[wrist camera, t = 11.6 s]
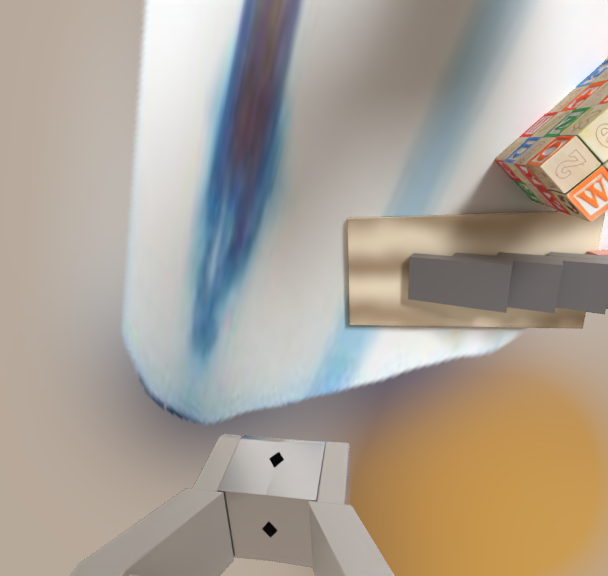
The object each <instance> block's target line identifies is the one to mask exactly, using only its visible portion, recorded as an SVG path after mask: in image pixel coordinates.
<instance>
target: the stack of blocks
mask: <svg viewBox="0 0 608 576" xmlns="http://www.w3.org/2000/svg"><path fill="white" fill-rule="evenodd" d="M495 160H496V162H497V163H498V164H499V165H500V166H501V167H502V168H503V169H504V170H505V171H506V173H507V174H508V175H509V176H510V177H511V178H512V179H513V180H515V181H516V183H517V184H518V185H519V186H520V187H521V188H522V189H523V190H524V191H525V193H526V194H527V195H528V196H529V197H530V198H531V199H532V200H533V201H536V202H538V203H541V204H545V205H547V206H549V207H552V208H554V209H557V210H558V211H561V212H564V213H566V214H568V215H573V216H576V217H578V218H581V219H583V220H586V221H589V222H592V221H594V220H595V219H596V218H598V217H599V216H600V215H601V214H603V213H604V212H605V211H607V210H608V58H607V59H606V60H605V62H604V63H602V64H601V65H600V66H599V67H598V68H597V69H596V70H595V71H593V72H592V73H591V74H590V75H589V76H588V77H587V78H586V79H585V80H583V81H582V82H581V83H580V84H579V85H578V86H577V87H576V88H575V89H574V90H573V91H571V92H570V93H569V94H568V95H567V96H566V97H565V98H564V99H563V100H561V101H560V102H559V103H558V104H557V105H556V106H555V107H554V108H553V109H552V110H550V111H549V112H548V113H547V114H545V115H544V116H543V117H541V118H540V119H539V120H538V121H537V122H536V123H535V124H534V125H533V126H531V127H530V128H529V129H528V130H527V131H526V132H525V133H524V134H522V135H521V136H520V137H519V138H518V139H517V140H515V141H514V142H513V143H512V144H511V145H510V146H509V147H508V148H506V149H505V150H504V151H503V152H502V153H501V154H500V155H499V156H497V157H496V159H495Z"/></svg>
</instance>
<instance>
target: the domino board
mask: <svg viewBox="0 0 608 576" xmlns="http://www.w3.org/2000/svg"><path fill="white" fill-rule="evenodd" d="M604 216H605V212H604V213H603V214H601V215H600V216H599V217H598V218H596V219H595V220H594V221H592V222H589V221H586V220H583V219H581V218H578V217H576V216H573V215H568V214H566V213H564V212H561V211H557V212H525V213H492V214H459V215H426V216H394V217H361V218H348V262H349V310H350V325H389V326H455V327H522V328H583V322H584V318H585V313H586V312H584V311H576V310H569V309H561V308H556V309H555V313H548V312H540V311H532V310H525V309H517V308H510V307H507V311H506V313H504V312H497V311H489V310H482V309H475V308H467V307H460V306H453V305H446V304H438V303H431V302H424V301H417V300H409V299H408V287H409V259H410V256H411V255H412V254H413V253H417V254H430V255H443V256H453V255H454V254H455V253H467V254H481V255H494V256H497V255H498V252H505V253H519V254H533V255H547V256H549V253H550V252H560V253H574V254H587V251H597V250H598V247H599V242H600V237H601V232H602V227H603V222H604Z"/></svg>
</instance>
